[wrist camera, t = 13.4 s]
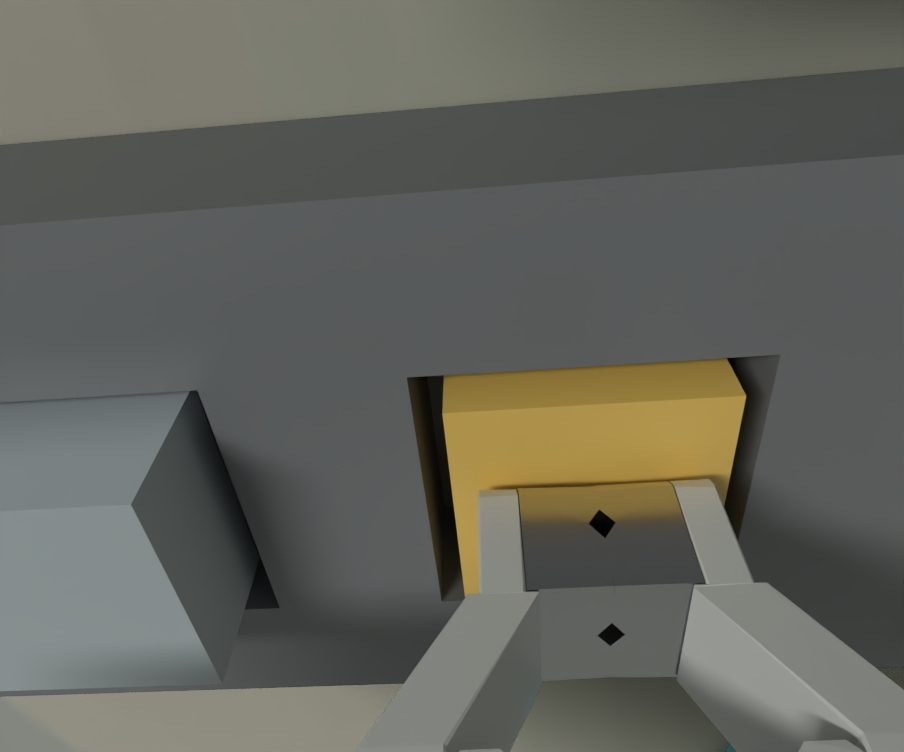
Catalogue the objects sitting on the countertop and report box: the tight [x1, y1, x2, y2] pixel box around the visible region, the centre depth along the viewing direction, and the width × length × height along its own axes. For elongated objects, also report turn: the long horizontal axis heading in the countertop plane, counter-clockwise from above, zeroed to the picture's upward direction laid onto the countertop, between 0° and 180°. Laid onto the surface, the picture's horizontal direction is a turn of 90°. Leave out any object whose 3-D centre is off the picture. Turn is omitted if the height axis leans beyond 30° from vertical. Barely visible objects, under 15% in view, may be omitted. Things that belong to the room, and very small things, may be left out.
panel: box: [0, 68, 904, 697], centre depth 11 cm, size 22×9×3 cm, turn 95°
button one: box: [442, 358, 746, 597], centre depth 10 cm, size 4×4×2 cm
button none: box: [0, 390, 260, 691], centre depth 10 cm, size 4×4×2 cm
